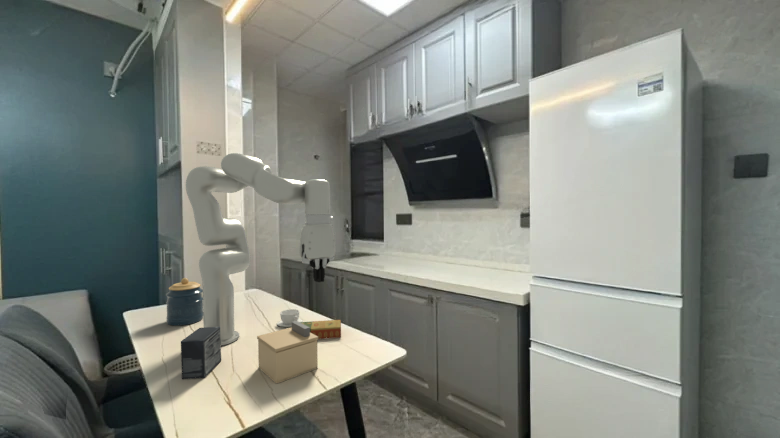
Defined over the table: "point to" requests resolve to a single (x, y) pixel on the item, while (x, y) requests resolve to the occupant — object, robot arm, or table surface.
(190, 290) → the canister
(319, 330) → the carton
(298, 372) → the shipping box
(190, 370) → the small box
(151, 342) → the table surface
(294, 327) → the box lid
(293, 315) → the teacup
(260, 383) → the table surface
